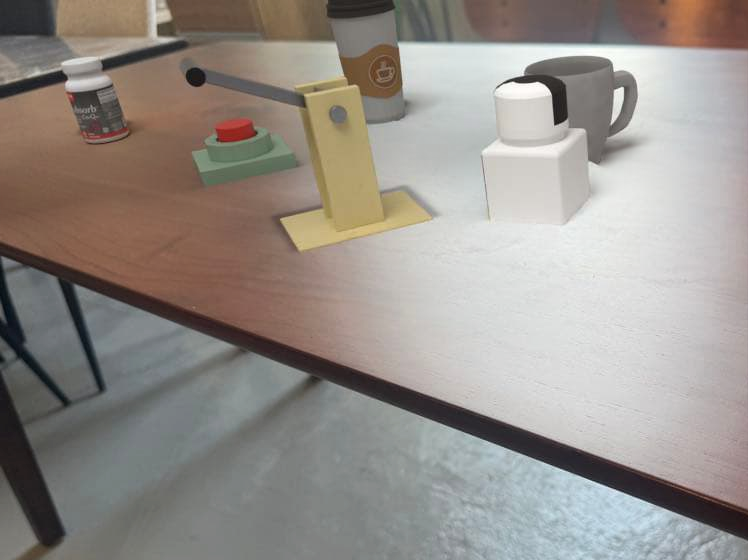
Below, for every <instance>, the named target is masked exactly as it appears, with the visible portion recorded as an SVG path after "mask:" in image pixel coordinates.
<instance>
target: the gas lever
mask: <svg viewBox="0 0 748 560" xmlns="http://www.w3.org/2000/svg"><path fill="white" fill-rule="evenodd" d="M179 70H180V71H181V73H182V75H183V77H184V79H185V80H186V82H187V84H188V85H190V86H192V87H194V88H200V87H202V86H204V85H205V84H208V85H212V86H216V87H220V88H224V89H228V90H232V91H235V92H240V93H244V94H247V95H250V96H255V97H259V98H263V99H267V100H271V101H274V102H278V103H282V104H287V105H291V106H293V107H297V108H299V107H301V108H305V109H307V107H306V103H305V99H304V94H303V93H299V92H295V90H291V89H287V88H283V87H280V86H276V85H272V84H268V83H266V82H265V83H264V82H261V81H258V80H253V79H250V78H246V77H241V76H238V75H235V74H231V73H226V72H223V71H220V70H216V69H212V68H208V67H204V66H202V65H200V64H199V63H198V61H197V60H196V59H195V58H193V57H190V56H186V57H183V58H182V59H181V60H180V62H179ZM319 91H324V89H320V88H317V87H314V91H313V93H314V92H319Z"/></svg>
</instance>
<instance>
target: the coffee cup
mask: <svg viewBox="0 0 748 560" xmlns="http://www.w3.org/2000/svg"><path fill="white" fill-rule="evenodd" d="M325 8H326V17H327V18H328V19H329V22H330V26H331V30H332V33H333V37H334V41H335V45H336V49H337V52H338V59H339V63H340V66H341V69H342V74H343V76H344V77H346V78H347V82H348V86H350V85H357V86H358V87H359V90H360V95H361V101H362V106H363V111H364V116H365V121H366V125H379V124H385V123H390V122H394V121H398V120H400V119H402V118H403V117H404V112H405V110H406V108H405V107H406V106H405V99H404V97H405V96H404V90H403V89H404V88H403V85H404V83H403V81H404V80H403V73H402V62H401V54H400V47H399V42H398V33H397V23H396V15H395V9H396V5H395V3H394V0H327V4H325Z"/></svg>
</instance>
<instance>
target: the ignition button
mask: <svg viewBox="0 0 748 560" xmlns="http://www.w3.org/2000/svg"><path fill="white" fill-rule="evenodd" d="M254 127H255V125H254V123H253V120H252V119H251V118H244V117H243V118H234V119H227V120H224V121H221V122H219V123H217V124H216V125H215V126H214V129H215V134H217V136H218V140H219V142H223V143H226V142H236V141H241V140H246V139H249V138H252V137H254V136H256V133H255V130H254Z"/></svg>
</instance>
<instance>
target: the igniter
mask: <svg viewBox="0 0 748 560" xmlns="http://www.w3.org/2000/svg"><path fill="white" fill-rule="evenodd" d="M254 130H255V133H256V136H254V137H252V138H249V139H246V140H241V141H236V142H226V143H223V142H219V140H218V136H217V133H213V134H210V136H208V137H207V138H206V139H204V141H203V142H204V145H205V148H203V149H198V150H193V151H191V153H190V154H191V156H192V159H193V162H194V165H195V169H196V172H197V174H198V176H199V178H200V181H201V183H202V186H203V188H208V187H212V186H218V185H222V184H227V183H231V182H235V181H240V180H245V179H250V178H254V177H259V176H264V175H268V174H272V173H278V172H282V171H287V170H292V169H296V168H298V163H297V159H296V156H295V152H294V151H293V150H292V148H291V147H290V146H289V145H288V144H287V143H286V141H285V140H284V139H283V138H282V136H281V135H280V134H279V133H276V134H273V135H272V134H271V132H270V131H269V129H268V128H267V127H262V126H261V127H260V126H254Z"/></svg>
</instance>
